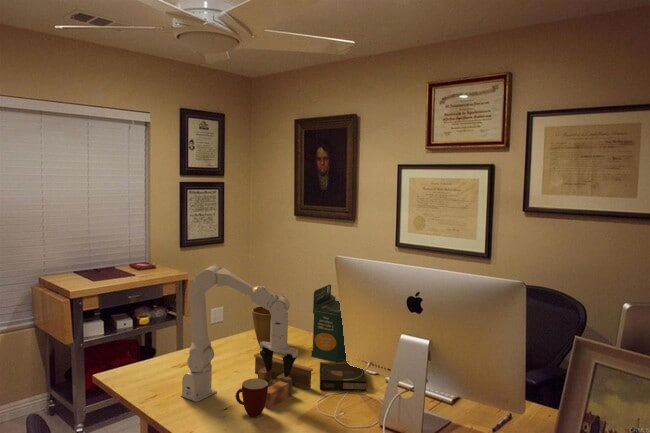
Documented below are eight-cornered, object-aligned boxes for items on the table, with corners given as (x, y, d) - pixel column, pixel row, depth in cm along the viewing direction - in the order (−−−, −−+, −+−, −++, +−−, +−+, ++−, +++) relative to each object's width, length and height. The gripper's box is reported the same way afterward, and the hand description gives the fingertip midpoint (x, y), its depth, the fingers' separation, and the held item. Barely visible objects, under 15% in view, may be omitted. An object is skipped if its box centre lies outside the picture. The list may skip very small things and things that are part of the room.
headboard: (299, 396, 168) (299, 376, 167) (243, 378, 181) (243, 359, 180) (312, 388, 175) (313, 368, 174) (257, 371, 188) (258, 352, 187)
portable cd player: (319, 391, 173) (320, 380, 173) (319, 372, 190) (320, 362, 190) (366, 393, 174) (366, 382, 173) (361, 373, 191) (362, 363, 190)
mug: (229, 417, 152) (230, 386, 151) (239, 405, 160) (240, 376, 159) (262, 422, 150) (263, 390, 149) (270, 410, 158) (271, 380, 157)
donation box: (328, 345, 219) (330, 283, 217) (361, 352, 212) (364, 288, 210) (311, 356, 205) (313, 290, 202) (346, 364, 198) (349, 296, 195)
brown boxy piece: (270, 408, 159) (270, 390, 158) (261, 405, 160) (262, 387, 160) (291, 395, 169) (292, 378, 168) (283, 392, 171) (283, 375, 170)
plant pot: (278, 353, 207) (279, 316, 206) (245, 348, 211) (246, 312, 210) (289, 341, 222) (290, 307, 221) (258, 337, 225) (259, 303, 224)
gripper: (303, 334, 162) (302, 374, 163) (269, 326, 170) (268, 364, 171) (291, 340, 156) (290, 381, 157) (256, 331, 164) (255, 370, 165)
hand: (277, 373), depth 164 cm, fingers open, 7 cm apart
